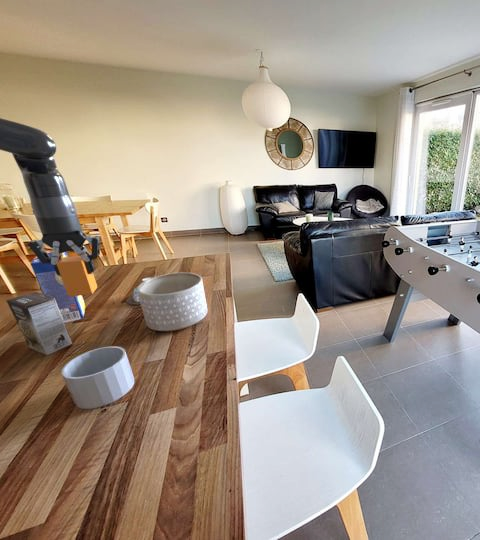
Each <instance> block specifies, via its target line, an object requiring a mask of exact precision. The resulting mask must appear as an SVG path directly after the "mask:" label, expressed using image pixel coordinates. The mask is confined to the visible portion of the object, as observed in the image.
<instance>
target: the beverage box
mask: <svg viewBox="0 0 480 540" xmlns="http://www.w3.org/2000/svg"><path fill="white" fill-rule="evenodd" d="M47 253H48V255H49V256H50V257H52V256H51V255H52V251H50V252H47ZM63 257H69V256H68V252H64V253H62V256H61V259H62V258H63ZM30 266H31V269H32V270H33V271H32V272H33V273H34V276H35V278H36V281H37V283H38V285H39V287H40V290H41V292H42V293H41V294H44V295H47V296H51V297H54V298H55V301H56V303H57V306H58V308H59V311H60V313H61V316H62V318H63V321H64V324H65V323H69V322H74V321H79V320H83V319H84V317H85V312H86V303H85V300H84V297H83V295H81V296H73V297H69V296H68V293H67V291H66V288H65V285H64V283H63V280H62V277H60V275H59V276H58V275H57V274H56V271H55V269H54V266H53V265H52V264H50V263H45V264H44V263H41V261H40V260H39V259H38V257H37V256H36V255H35V257H34V258H33V260H32V261H31V262H30Z"/></svg>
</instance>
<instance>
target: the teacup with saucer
mask: <svg viewBox="0 0 480 540" xmlns="http://www.w3.org/2000/svg"><path fill="white" fill-rule="evenodd" d="M151 278H152V277H145V278H142V280H141V283H142V282H144V281H146V280H148V279H151ZM126 304H127V305H129V306H134V307H135V306H141V303H140V299H139V296H138V292H137V287H135V288H134V289H133V293H132V295H130V296H129V297H128V298H127V299H126Z"/></svg>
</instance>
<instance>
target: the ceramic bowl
mask: <svg viewBox="0 0 480 540" xmlns="http://www.w3.org/2000/svg"><path fill="white" fill-rule="evenodd" d="M61 377H62V378H63V381H64V383H65V385H66V387H67V388H66V389H68V392H69V395H70V397H71V399H72V401H73V403H74V405H75V406H76V407H77V408H79V409H82V410H92V409H97V408H98V409H99V408H101V407H104V406H107V405H109V404H112V403H114V402H116V401H118V400H119V399H121V398H123V397H124V396H125V395H127V393H128V392H130V391H131V390H132V388H133V387H134V385H135V382H136V381H135V376H134V374H133V370H132V367H131V364H130V361H129V358H128V355H127V352H126V350H125V348H123V347H122V346H115V345H111V346H104V347H103V346H102V347H98V348H95V349H92V350H89V351H86V352H83V353H82V354H79V355H77V356H76V357H74V358H72V359H71V360H69V361H68V362H67V363H65V365H64V366H63V368H62V369H61Z"/></svg>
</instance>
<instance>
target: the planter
mask: <svg viewBox="0 0 480 540" xmlns="http://www.w3.org/2000/svg"><path fill="white" fill-rule="evenodd" d="M150 278H151V279H148V280H146V281H144V282H142V281H141V283H140V284H138V286H136V288H137V292H138V296H139V299H140V303H141V305H140V307H141V311H142V313H143V317H144V321H145V324H146V326H147V328H149V329H151V330H154V331H159V332H174V331H180V330H184V329H187V328H190V327H191V326H194V325H196V324H197V323H198V322H200V321H202V320H203V319H204V318H205V317H206V316H207V314H208V312H209V311H208V304H207V299H206V298H207V297H206V293H205V288H204V282H203V278H202V276H201V275H200V274H197V273H195V272H194V273H193V272H172V273H166V274H161V275H160V274H159V275H156V276H153V277H150Z"/></svg>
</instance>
